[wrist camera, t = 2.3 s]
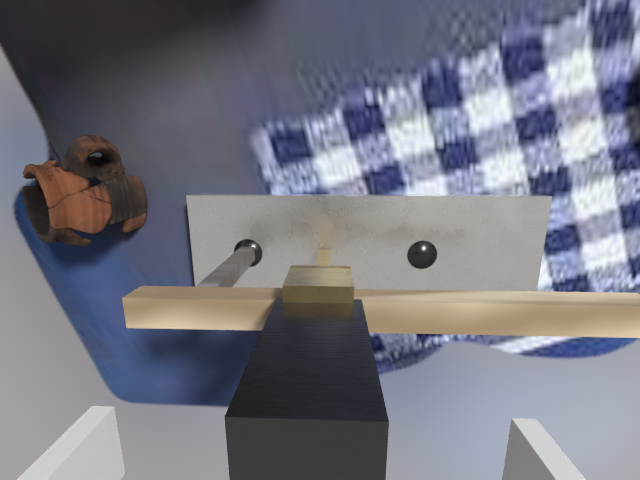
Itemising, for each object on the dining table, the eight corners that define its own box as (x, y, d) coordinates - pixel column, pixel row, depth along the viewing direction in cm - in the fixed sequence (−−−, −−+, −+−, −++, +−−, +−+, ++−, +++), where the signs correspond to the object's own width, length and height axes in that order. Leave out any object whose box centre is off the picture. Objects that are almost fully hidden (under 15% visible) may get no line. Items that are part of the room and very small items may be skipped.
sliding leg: (299, 232, 32) (222, 388, 9) (349, 233, 31) (390, 393, 9) (300, 276, 33) (232, 508, 10) (348, 276, 32) (383, 514, 10)
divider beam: (209, 243, 33) (122, 298, 19) (523, 246, 32) (669, 306, 18) (211, 261, 33) (126, 327, 20) (520, 265, 32) (660, 338, 18)
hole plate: (194, 193, 34) (185, 195, 32) (538, 194, 32) (552, 196, 30) (204, 297, 36) (196, 305, 34) (522, 302, 35) (533, 311, 33)
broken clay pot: (145, 252, 36) (56, 272, 29) (104, 206, 39) (16, 215, 33) (164, 157, 30) (60, 155, 24) (114, 113, 34) (11, 100, 27)
